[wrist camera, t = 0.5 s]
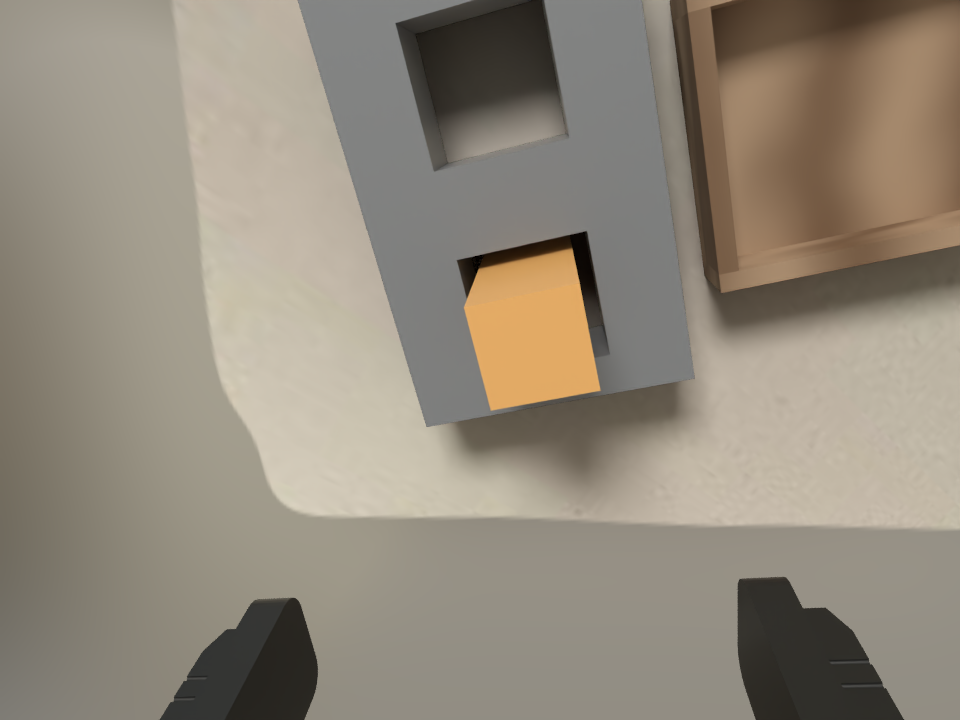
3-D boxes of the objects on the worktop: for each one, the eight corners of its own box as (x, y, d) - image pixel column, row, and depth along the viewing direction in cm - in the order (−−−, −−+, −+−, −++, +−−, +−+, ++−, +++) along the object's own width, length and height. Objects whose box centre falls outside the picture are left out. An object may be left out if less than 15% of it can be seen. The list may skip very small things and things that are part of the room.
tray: (985, -88, 24) (1043, -112, 21) (979, 218, 28) (1027, 231, 25) (670, 0, 26) (685, -12, 23) (704, 275, 30) (721, 293, 27)
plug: (569, 233, 30) (579, 283, 22) (584, 314, 31) (600, 390, 23) (485, 252, 31) (463, 307, 22) (504, 330, 32) (490, 410, 24)
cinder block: (614, -77, 25) (626, -108, 22) (676, 346, 31) (694, 378, 28) (329, 9, 27) (295, -6, 24) (439, 391, 33) (426, 427, 30)
